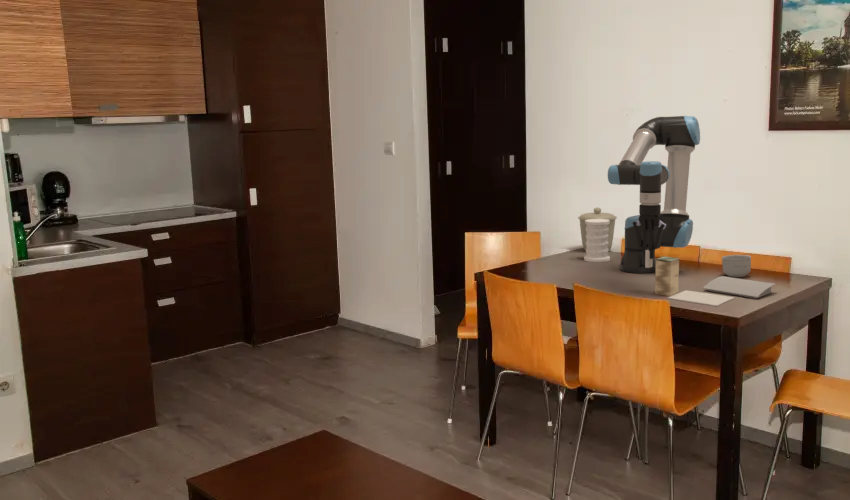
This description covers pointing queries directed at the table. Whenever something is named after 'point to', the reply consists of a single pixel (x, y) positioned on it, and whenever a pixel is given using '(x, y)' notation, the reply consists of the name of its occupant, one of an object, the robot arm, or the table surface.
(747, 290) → the book
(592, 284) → the table surface
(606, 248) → the decorative container
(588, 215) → the canister
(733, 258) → the teacup
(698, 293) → the grey mat
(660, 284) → the maple block
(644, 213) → the robot arm
